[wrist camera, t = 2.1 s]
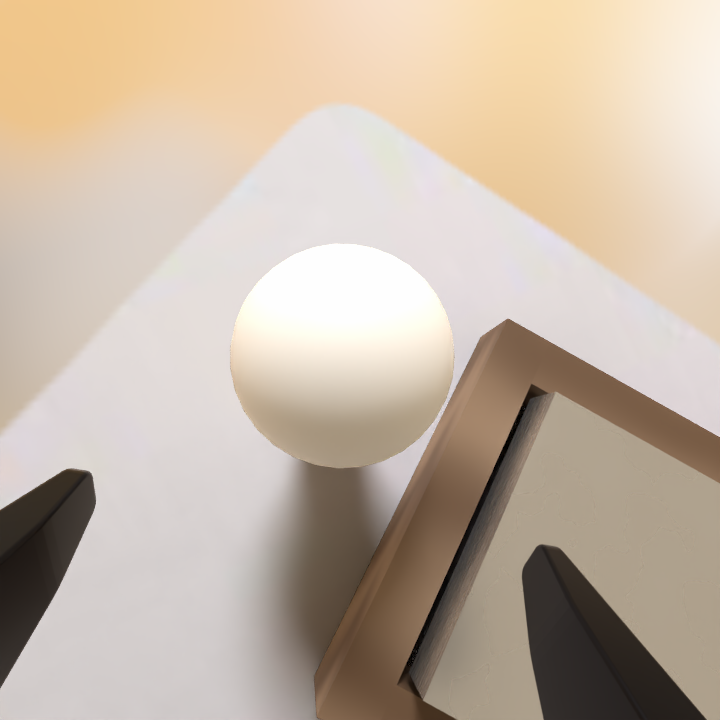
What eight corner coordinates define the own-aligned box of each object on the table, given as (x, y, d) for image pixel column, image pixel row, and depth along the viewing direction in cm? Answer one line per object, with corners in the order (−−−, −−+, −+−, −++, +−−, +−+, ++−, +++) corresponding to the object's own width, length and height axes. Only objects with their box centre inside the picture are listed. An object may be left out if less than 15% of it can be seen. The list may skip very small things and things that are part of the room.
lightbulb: (367, 312, 22) (431, 170, 11) (414, 436, 21) (533, 412, 10) (239, 352, 21) (174, 238, 10) (283, 486, 20) (262, 516, 9)
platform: (683, 825, 17) (733, 873, 15) (408, 672, 17) (423, 700, 15) (766, 530, 19) (817, 538, 17) (530, 398, 19) (556, 391, 17)
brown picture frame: (667, 872, 18) (735, 949, 16) (314, 676, 18) (316, 717, 15) (772, 500, 22) (842, 506, 19) (480, 336, 22) (508, 318, 19)
